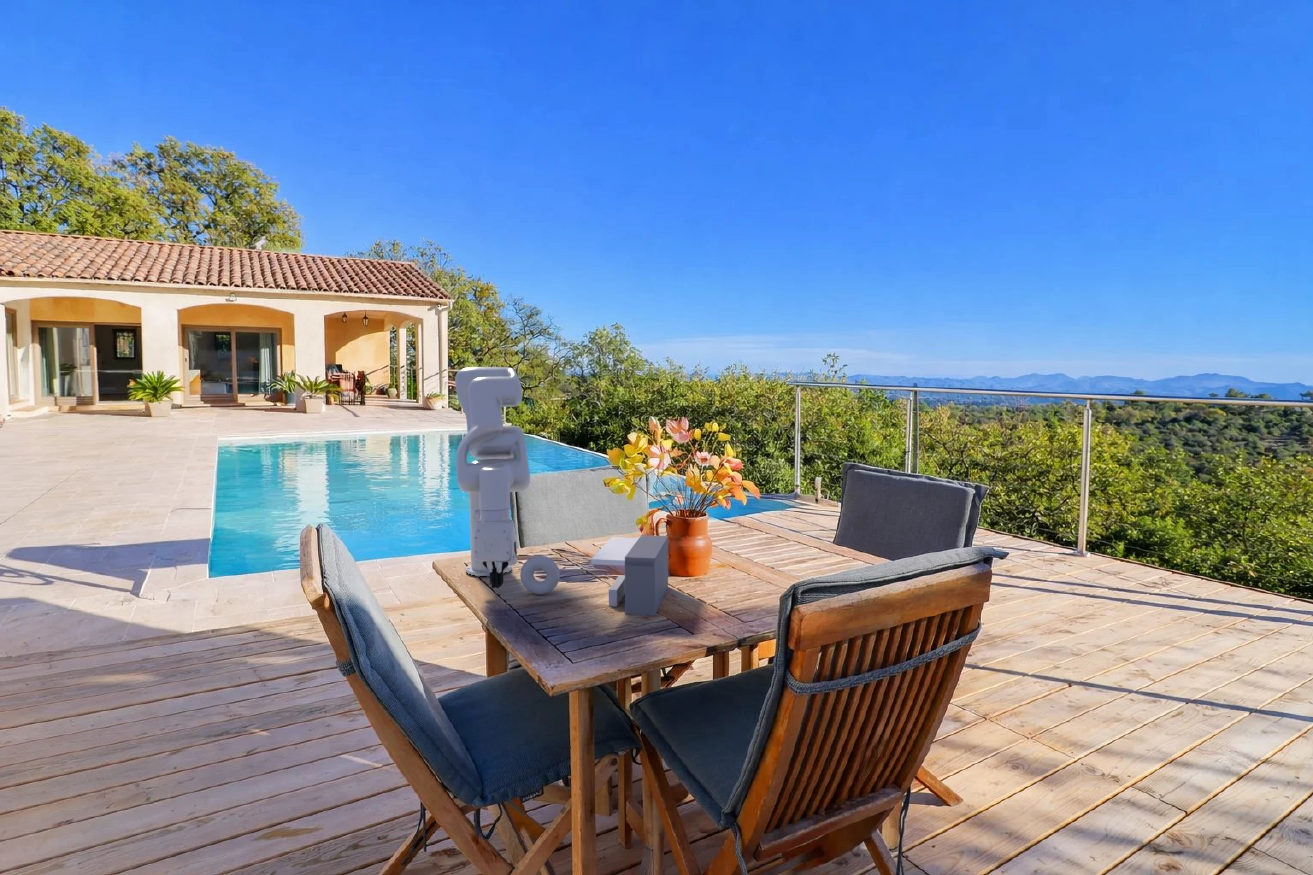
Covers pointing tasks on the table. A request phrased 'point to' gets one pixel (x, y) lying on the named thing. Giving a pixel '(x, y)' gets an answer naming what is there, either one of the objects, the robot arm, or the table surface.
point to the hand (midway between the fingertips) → (496, 586)
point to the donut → (535, 585)
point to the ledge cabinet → (637, 572)
